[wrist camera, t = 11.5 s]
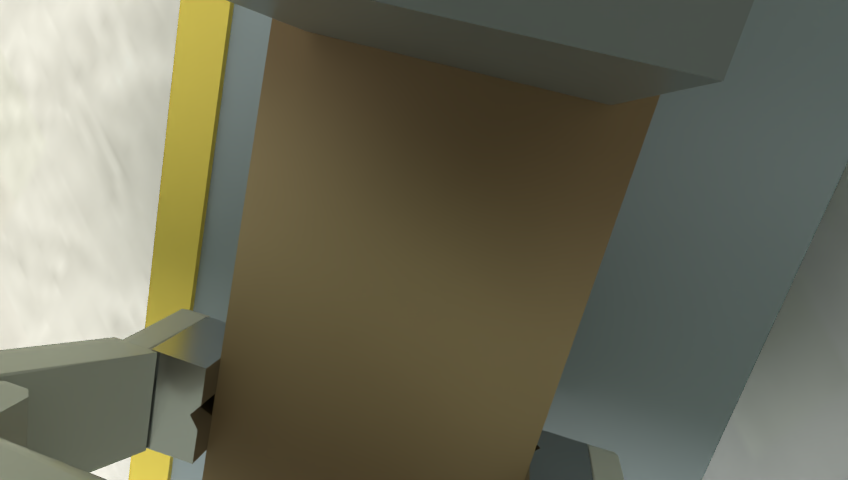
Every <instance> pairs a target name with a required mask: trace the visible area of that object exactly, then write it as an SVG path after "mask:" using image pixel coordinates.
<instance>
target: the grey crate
mask: <svg viewBox="0 0 848 480" xmlns="http://www.w3.org/2000/svg"><path fill="white" fill-rule="evenodd" d="M227 1H229V2H232V3H234V4H237V5H240V6H242V7H245V8H247V9H250V10H253V11H255V12H258V13H260V14H263V15H265V16H268V17H271V18H273V19H276V20H278V21H281V22H284V23H286V24H289V25H291V26H294V27H297V28H299V29H302V30H304V31H307V32H312V33H316V34H320V35H324V36H328V37H332V38H336V39H340V40H345V41H349V42H353V43H357V44H361V45H365V46H369V47H373V48H377V49H382V50H386V51H390V52H394V53H398V54H402V55H406V56H410V57H415V58H419V59H423V60H427V61H431V62H435V63H439V64H443V65H448V66H452V67H456V68H460V69H464V70H468V71H472V72H476V73H480V74H485V75H489V76H493V77H497V78H501V79H505V80H509V81H513V82H518V83H522V84H526V85H530V86H534V87H538V88H542V89H546V90H551V91H555V92H559V93H563V94H567V95H571V96H575V97H579V98H583V99H588V100H592V101H596V102H600V103H604V104H608V105H614V104H619V103H623V102H628V101H633V100H637V99H642V98H647V97H651V96H656V95H661V94H665V93H670V92H675V91H679V90H684V89H689V88H694V87H698V86H703V85H708V84H712V83H717V82H722V81H724V78H725V76H726V73H727V70H728V68H729V65H730V62H731V60H732V57H733V55H734V52H735V49H736V47H737V44H738V42H739V39H740V36H741V34H742V31H743V28H744V26H745V23H746V21H747V18H748V15H749V13H750V10H751V7H752V5H753V2H754V0H227Z"/></svg>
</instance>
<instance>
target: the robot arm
mask: <svg viewBox="0 0 848 480" xmlns="http://www.w3.org/2000/svg"><path fill="white" fill-rule="evenodd" d="M225 325H226V322H223V321H220V320H218V319H215V318H211V317H209V316H208V315H204V314H201V313H198V312H195V311H191V310H187V309H181V310H179V311H177V312H175V313H173V314H171V315H169V316H167V317H166V318H164V319H162V320H160V321H158V322H156V323H154V324H152V325H150V326H148V327H146V328H145V329H143V330H141V331H139V332H137V333H135V334H133V335H131V336H129V337H127V338H125V339H123V340H121V339H118V338H115V337H113V338H104V339H95V340H87V341H78V342H69V343H60V344H51V345H42V346H34V347H25V348H16V349H7V350H0V480H106V479H104V478H101V477H99V476H96V475H94V474H91V473H89V472H92V471H95V470H97V469H100V468H102V467H105V466H107V465H110V464H113V463H115V462H118V461H120V460H123V459H126V458H128V457H131V456H133V455H136V454H138V453H141V452H144V451H146V448H148V449H151V450H154V451H156V452H159V453H162V454H165V455H168V456H171V457H174V458H177V459H180V460H182V461H185V462H188V463H191V464H193V463H194V462H195V461H196V460H197V459H198V458H199V457H200V456H201V455H202V454H203V453H204V452H205V451H206V450H207V446H208V440H209V434H210V428H211V421H212V411H213V405H214V398H215V393H216V389H217V382H218V375H219V368H220V361H221V352H222V345H223V339H224V332H225ZM525 480H624V476H623V472H622V468H621V465H620V461H619V457H618V455H617V454H616V453H615V452H613V451H609V450H606V449H602V448H599V447H596V446H592V445H589V444H586V443H583V442H580V441H576V440H573V439H570V438H567V437H563V436H560V435H557V434H554V433H551V432H547V431H544V430H542V432H541V435H540V438H539V440H538V443H537V446H536V449H535V452H534V455H533V458H532V460H531V463H530V466H529V469H528V471H527V474H526V477H525Z"/></svg>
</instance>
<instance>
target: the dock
mask: <svg viewBox="0 0 848 480" xmlns="http://www.w3.org/2000/svg"><path fill="white" fill-rule="evenodd" d="M271 22H272V18H271V17H268V16H265V15H263V14H260V13H258V12H255V11H253V10H250V9H247V8H245V7H242V6H240V5H237V4H234V3H232V2H229V1H227V0H180V10H179V19H178V28H177V37H176V47H175V56H174V65H173V74H172V84H171V93H170V102H169V111H168V121H167V130H166V139H165V148H164V157H163V167H162V176H161V185H160V194H159V204H158V213H157V222H156V231H155V241H154V250H153V259H152V268H151V278H150V287H149V296H148V305H147V315H146V324H145V328H146V327H148V326H150V325H152V324H154V323H156V322H158V321H160V320H162V319H164V318H166V317H167V316H169V315H171V314H173V313H175V312H177V311H179V310H181V309H187V310H191V311H195V312H198V313H201V314H204V315H208V316H209V317H211V318H215V319H218V320H220V321H223V322H226V319H227V312H228V306H229V299H230V293H231V286H232V279H233V273H234V266H235V260H236V253H237V246H238V240H239V233H240V227H241V220H242V213H243V207H244V200H245V194H246V187H247V180H248V174H249V167H250V161H251V154H252V147H253V141H254V134H255V128H256V121H257V115H258V108H259V101H260V95H261V88H262V82H263V75H264V68H265V62H266V55H267V49H268V42H269V35H270V29H271ZM847 163H848V0H754V2H753V5H752V7H751V10H750V13H749V15H748V18H747V21H746V23H745V26H744V28H743V31H742V34H741V36H740V39H739V42H738V44H737V47H736V49H735V52H734V55H733V57H732V60H731V62H730V65H729V68H728V70H727V73H726V76H725V78H724V81H722V82H717V83H712V84H708V85H703V86H698V87H694V88H689V89H684V90H679V91H675V92H670V93H665V94H661V95H660V97H659V100H658V103H657V106H656V108H655V111H654V114H653V117H652V120H651V123H650V125H649V128H648V131H647V134H646V137H645V140H644V142H643V145H642V148H641V151H640V154H639V157H638V159H637V162H636V165H635V168H634V171H633V174H632V177H631V179H630V182H629V185H628V188H627V191H626V194H625V196H624V199H623V202H622V205H621V208H620V211H619V213H618V216H617V219H616V222H615V225H614V228H613V230H612V233H611V236H610V239H609V242H608V245H607V247H606V250H605V253H604V256H603V259H602V262H601V264H600V267H599V270H598V273H597V276H596V279H595V282H594V284H593V287H592V290H591V293H590V296H589V299H588V301H587V304H586V307H585V310H584V313H583V316H582V318H581V321H580V324H579V327H578V330H577V333H576V335H575V338H574V341H573V344H572V347H571V350H570V352H569V355H568V358H567V361H566V364H565V367H564V370H563V372H562V375H561V378H560V381H559V384H558V387H557V389H556V392H555V395H554V398H553V401H552V404H551V406H550V409H549V412H548V415H547V418H546V421H545V423H544V426H543V429H542V430H544V431H547V432H551V433H554V434H557V435H560V436H563V437H567V438H570V439H573V440H576V441H580V442H583V443H586V444H589V445H592V446H596V447H599V448H602V449H606V450H609V451H613V452H615V453H616V454H617V455H618V457H619V461H620V465H621V468H622V472H623V476H624V480H702V478H703V476H704V474H705V471H706V469H707V467H708V465H709V463H710V460H711V458H712V456H713V454H714V452H715V450H716V447H717V445H718V443H719V441H720V439H721V437H722V434H723V432H724V430H725V428H726V426H727V424H728V421H729V419H730V417H731V415H732V413H733V410H734V408H735V406H736V404H737V402H738V400H739V397H740V395H741V393H742V391H743V389H744V387H745V384H746V382H747V380H748V378H749V376H750V374H751V371H752V369H753V367H754V365H755V363H756V360H757V358H758V356H759V354H760V352H761V350H762V347H763V345H764V343H765V341H766V339H767V337H768V334H769V332H770V330H771V328H772V326H773V324H774V321H775V319H776V317H777V315H778V313H779V311H780V308H781V306H782V304H783V302H784V300H785V297H786V295H787V293H788V291H789V289H790V287H791V284H792V282H793V280H794V278H795V276H796V274H797V271H798V269H799V267H800V265H801V263H802V261H803V258H804V256H805V254H806V252H807V250H808V247H809V245H810V243H811V241H812V239H813V237H814V234H815V232H816V230H817V228H818V226H819V224H820V221H821V219H822V217H823V215H824V213H825V211H826V208H827V206H828V204H829V202H830V200H831V197H832V195H833V193H834V191H835V189H836V187H837V184H838V182H839V180H840V178H841V176H842V174H843V171H844V169H845V167H846V165H847ZM206 451H207V450H206ZM206 451H205V452H204V453H203V454H202V455H201V456H200V457H199V458H198V459H197V460H196V461H195V462H194V463H193V464H191V463H188V462H185V461H182V460H180V459H177V458H174V457H171V456H168V455H165V454H162V453H159V452H156V451H154V450H151V449H148V448H146V451H144V452H141V453H138V454H136V455H133V456H131V462H130V472H129V480H202V477H203V471H204V464H205V457H206Z"/></svg>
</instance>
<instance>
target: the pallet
mask: <svg viewBox="0 0 848 480" xmlns="http://www.w3.org/2000/svg"><path fill="white" fill-rule="evenodd" d="M659 97H660V95H656V96H651V97H647V98H642V99H637V100H633V101H628V102H623V103H619V104H614V105H608V104H604V103H600V102H596V101H592V100H588V99H583V98H579V97H575V96H571V95H567V94H563V93H559V92H555V91H551V90H546V89H542V88H538V87H534V86H530V85H526V84H522V83H518V82H513V81H509V80H505V79H501V78H497V77H493V76H489V75H485V74H480V73H476V72H472V71H468V70H464V69H460V68H456V67H452V66H448V65H443V64H439V63H435V62H431V61H427V60H423V59H419V58H415V57H410V56H406V55H402V54H398V53H394V52H390V51H386V50H382V49H377V48H373V47H369V46H365V45H361V44H357V43H353V42H349V41H345V40H340V39H336V38H332V37H328V36H324V35H320V34H316V33H312V32H307V31H304V30H302V29H299V28H297V27H294V26H291V25H289V24H286V23H284V22H281V21H278V20H276V19H273V18H272V22H271V29H270V35H269V42H268V49H267V55H266V62H265V68H264V75H263V82H262V88H261V95H260V101H259V108H258V115H257V121H256V128H255V134H254V141H253V147H252V154H251V161H250V167H249V174H248V180H247V187H246V194H245V200H244V207H243V213H242V220H241V227H240V233H239V240H238V246H237V253H236V260H235V266H234V273H233V279H232V286H231V293H230V299H229V306H228V312H227V319H226V325H225V332H224V339H223V345H222V352H221V361H220V368H219V375H218V382H217V389H216V393H215V398H214V405H213V411H212V421H211V428H210V434H209V440H208V446H207V451H206V457H205V464H204V471H203V477H202V480H525V477H526V474H527V471H528V469H529V466H530V463H531V460H532V458H533V455H534V452H535V449H536V446H537V443H538V440H539V438H540V435H541V432H542V429H543V426H544V423H545V421H546V418H547V415H548V412H549V409H550V406H551V404H552V401H553V398H554V395H555V392H556V389H557V387H558V384H559V381H560V378H561V375H562V372H563V370H564V367H565V364H566V361H567V358H568V355H569V352H570V350H571V347H572V344H573V341H574V338H575V335H576V333H577V330H578V327H579V324H580V321H581V318H582V316H583V313H584V310H585V307H586V304H587V301H588V299H589V296H590V293H591V290H592V287H593V284H594V282H595V279H596V276H597V273H598V270H599V267H600V264H601V262H602V259H603V256H604V253H605V250H606V247H607V245H608V242H609V239H610V236H611V233H612V230H613V228H614V225H615V222H616V219H617V216H618V213H619V211H620V208H621V205H622V202H623V199H624V196H625V194H626V191H627V188H628V185H629V182H630V179H631V177H632V174H633V171H634V168H635V165H636V162H637V159H638V157H639V154H640V151H641V148H642V145H643V142H644V140H645V137H646V134H647V131H648V128H649V125H650V123H651V120H652V117H653V114H654V111H655V108H656V106H657V103H658V100H659Z"/></svg>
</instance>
